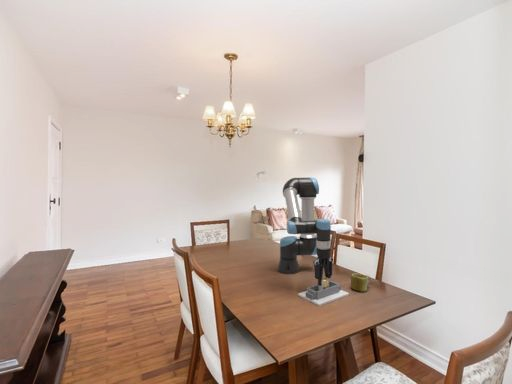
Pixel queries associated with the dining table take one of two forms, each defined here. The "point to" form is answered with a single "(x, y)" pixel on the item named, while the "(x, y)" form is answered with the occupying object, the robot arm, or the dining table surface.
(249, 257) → the dining table surface
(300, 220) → the robot arm
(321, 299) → the white grey flat tray
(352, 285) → the mug
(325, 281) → the pin
